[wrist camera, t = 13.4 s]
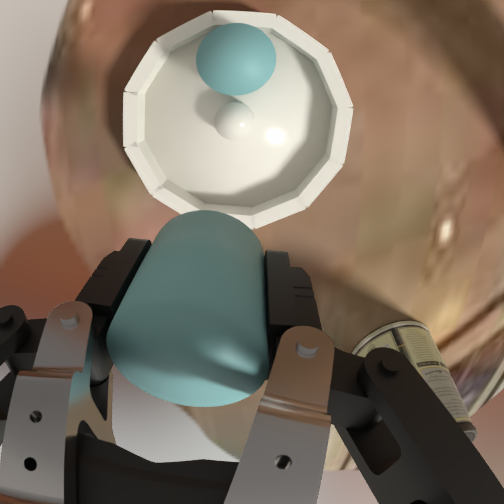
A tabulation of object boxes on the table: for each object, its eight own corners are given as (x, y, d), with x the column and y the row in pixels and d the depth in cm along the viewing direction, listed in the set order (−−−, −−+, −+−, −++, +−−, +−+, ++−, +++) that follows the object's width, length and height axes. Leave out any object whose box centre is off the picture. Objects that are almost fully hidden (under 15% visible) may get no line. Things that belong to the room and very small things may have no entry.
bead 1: (271, 215, 10) (280, 310, 6) (259, 310, 12) (259, 411, 8) (148, 206, 10) (89, 290, 6) (157, 301, 12) (124, 395, 8)
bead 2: (274, 38, 16) (279, 26, 12) (269, 95, 18) (272, 98, 14) (211, 34, 16) (199, 22, 12) (206, 91, 18) (193, 94, 14)
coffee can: (402, 380, 35) (431, 473, 23) (334, 376, 34) (353, 486, 22) (446, 324, 30) (497, 424, 18) (375, 313, 29) (420, 440, 16)
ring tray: (357, 32, 16) (368, 27, 14) (325, 226, 24) (332, 240, 22) (137, 17, 16) (125, 11, 14) (134, 210, 23) (124, 222, 21)
